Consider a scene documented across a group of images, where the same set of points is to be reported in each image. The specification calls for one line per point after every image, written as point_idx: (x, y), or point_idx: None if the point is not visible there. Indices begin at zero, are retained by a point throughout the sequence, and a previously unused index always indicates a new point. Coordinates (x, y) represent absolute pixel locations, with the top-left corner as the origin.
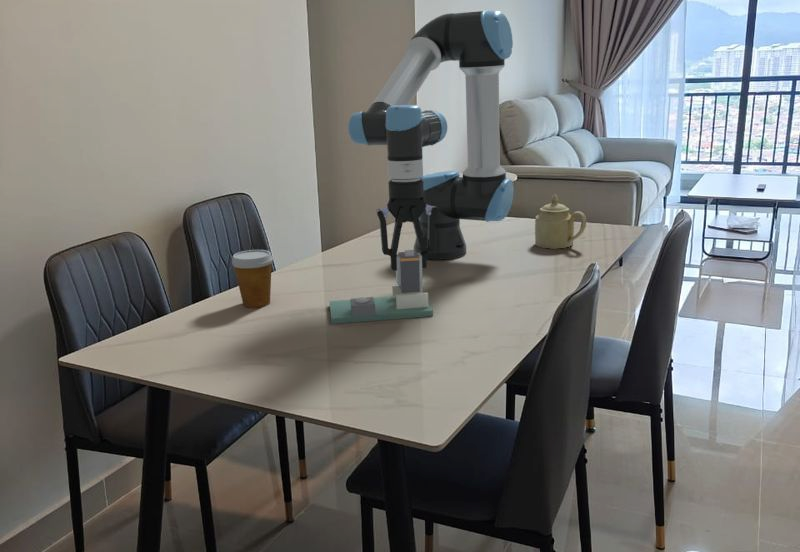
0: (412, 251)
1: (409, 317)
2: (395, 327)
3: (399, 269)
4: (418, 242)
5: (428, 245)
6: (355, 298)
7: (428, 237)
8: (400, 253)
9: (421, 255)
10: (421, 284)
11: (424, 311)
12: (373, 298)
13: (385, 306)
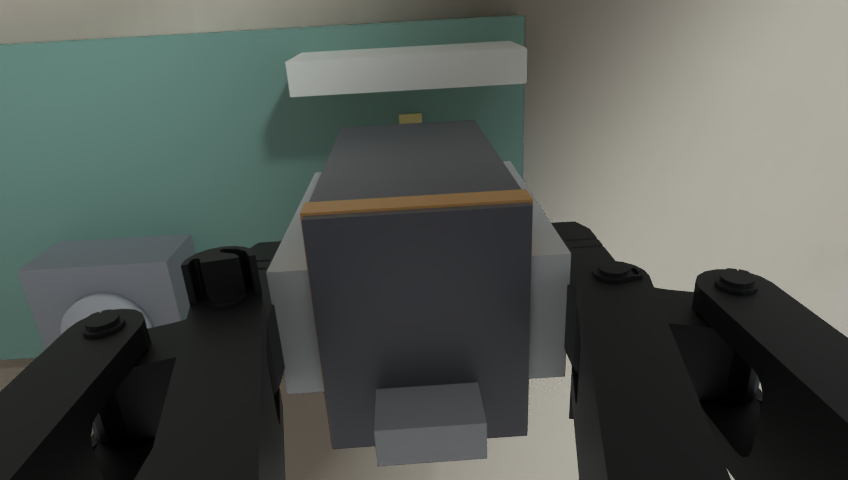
0: (466, 453)
1: None
2: (324, 419)
3: None
4: (581, 447)
5: (711, 342)
6: (51, 271)
7: (777, 445)
8: (329, 284)
9: (563, 366)
10: (515, 83)
11: None
12: (168, 52)
13: (262, 225)
